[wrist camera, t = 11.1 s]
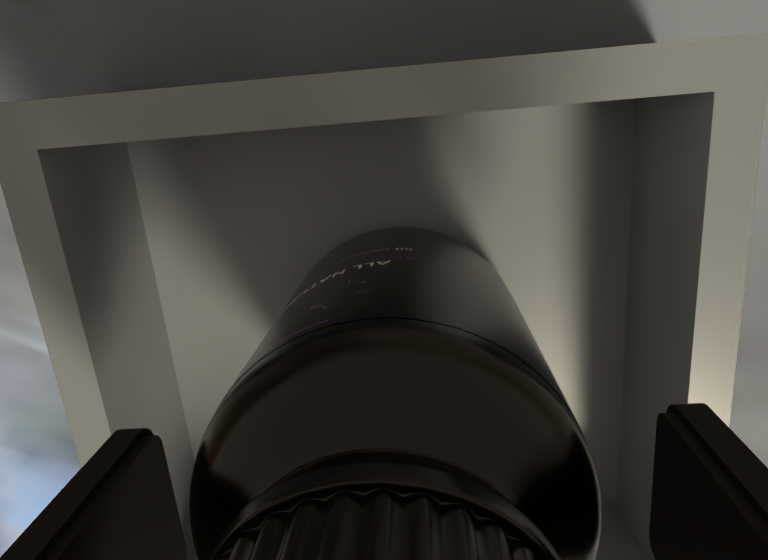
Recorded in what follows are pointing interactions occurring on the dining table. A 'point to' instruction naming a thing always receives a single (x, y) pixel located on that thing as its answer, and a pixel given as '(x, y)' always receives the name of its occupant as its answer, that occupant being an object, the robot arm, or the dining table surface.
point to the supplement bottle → (396, 422)
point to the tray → (401, 209)
